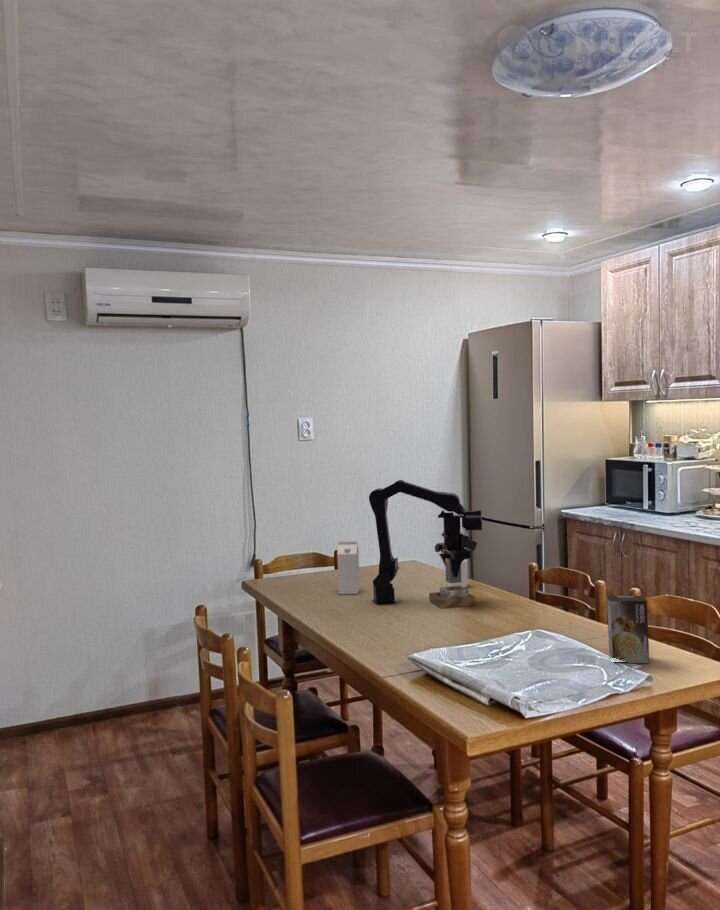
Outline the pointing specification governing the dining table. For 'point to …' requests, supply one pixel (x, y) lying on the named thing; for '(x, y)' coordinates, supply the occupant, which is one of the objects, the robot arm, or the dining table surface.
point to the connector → (449, 574)
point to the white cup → (462, 575)
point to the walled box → (451, 597)
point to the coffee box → (628, 628)
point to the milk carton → (348, 567)
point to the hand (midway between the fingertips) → (453, 575)
